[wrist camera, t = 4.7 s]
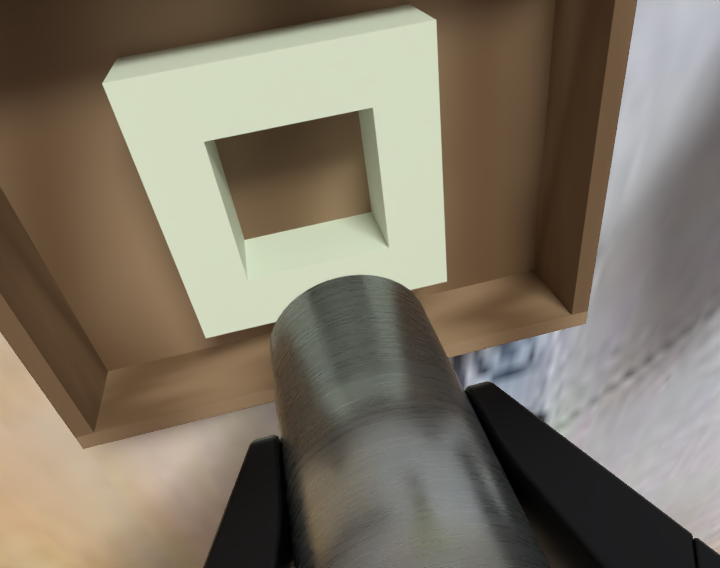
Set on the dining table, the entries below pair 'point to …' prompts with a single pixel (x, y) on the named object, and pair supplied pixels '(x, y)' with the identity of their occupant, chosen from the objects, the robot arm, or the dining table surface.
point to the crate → (288, 193)
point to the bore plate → (278, 108)
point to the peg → (385, 440)
